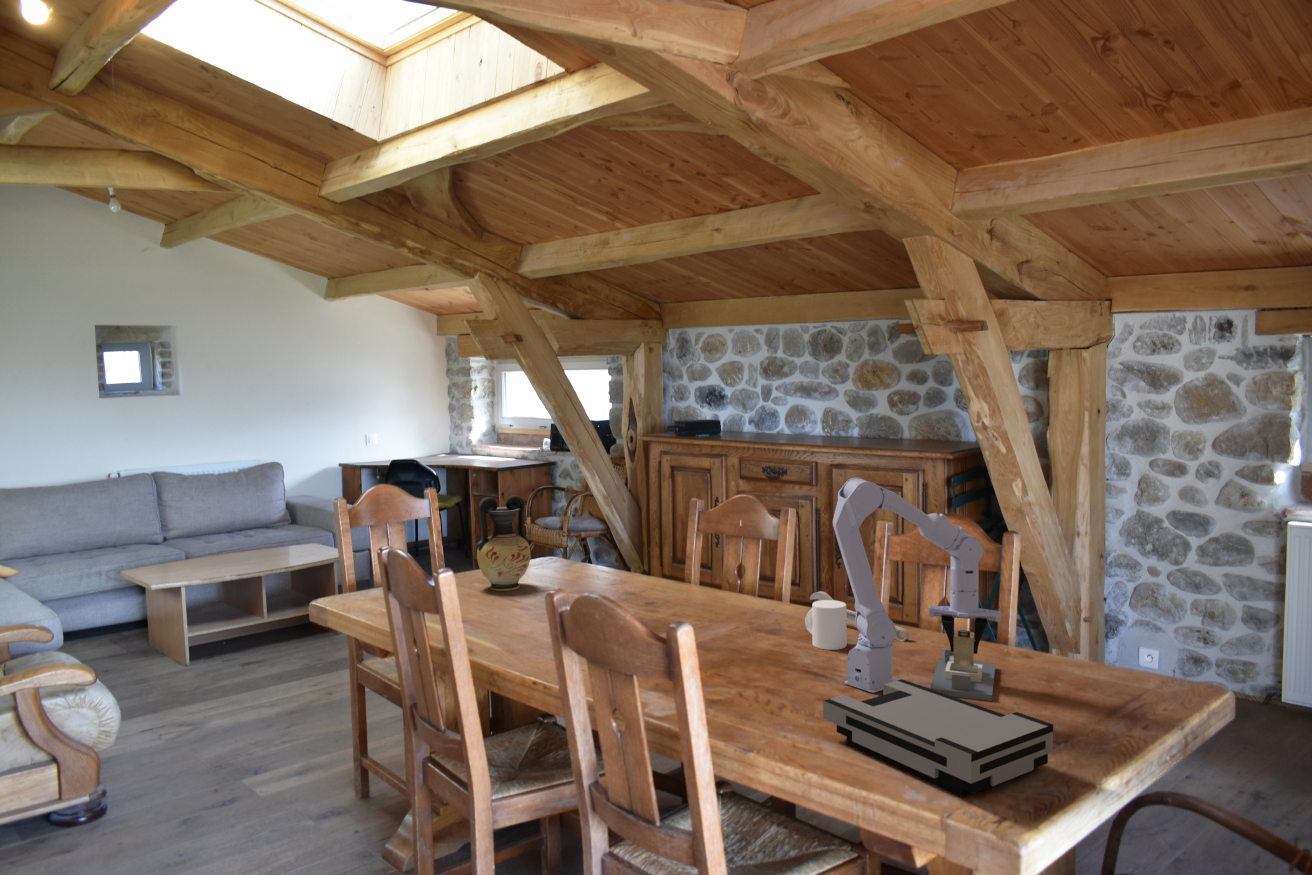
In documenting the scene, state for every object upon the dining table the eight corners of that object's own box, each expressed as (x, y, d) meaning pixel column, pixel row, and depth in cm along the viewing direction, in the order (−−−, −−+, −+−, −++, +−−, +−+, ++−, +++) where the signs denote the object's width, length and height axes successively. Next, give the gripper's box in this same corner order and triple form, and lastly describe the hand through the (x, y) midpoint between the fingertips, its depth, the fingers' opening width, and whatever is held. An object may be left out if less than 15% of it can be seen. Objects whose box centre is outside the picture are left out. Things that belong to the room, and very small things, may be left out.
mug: (829, 609, 210) (794, 600, 220) (829, 652, 211) (795, 640, 221) (853, 604, 215) (818, 595, 225) (853, 645, 216) (818, 635, 225)
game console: (902, 714, 171) (902, 672, 171) (1052, 772, 145) (1053, 724, 144) (823, 738, 160) (823, 693, 160) (970, 806, 133) (971, 754, 133)
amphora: (514, 579, 297) (512, 491, 295) (541, 587, 284) (539, 495, 282) (467, 587, 286) (465, 496, 284) (493, 596, 273) (491, 500, 271)
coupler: (953, 663, 187) (953, 633, 187) (954, 657, 191) (954, 627, 190) (973, 665, 186) (973, 635, 185) (974, 659, 190) (974, 629, 189)
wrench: (903, 653, 219) (807, 617, 241) (907, 651, 220) (812, 616, 242) (907, 622, 218) (810, 589, 240) (911, 620, 219) (814, 588, 241)
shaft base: (992, 700, 177) (992, 680, 176) (929, 693, 181) (929, 673, 181) (995, 668, 197) (995, 649, 197) (939, 662, 202) (939, 644, 201)
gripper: (927, 590, 187) (927, 653, 188) (1000, 595, 182) (999, 660, 182) (930, 583, 194) (930, 644, 194) (1001, 588, 188) (1000, 650, 189)
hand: (964, 651), depth 189 cm, fingers closed on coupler, 4 cm apart
